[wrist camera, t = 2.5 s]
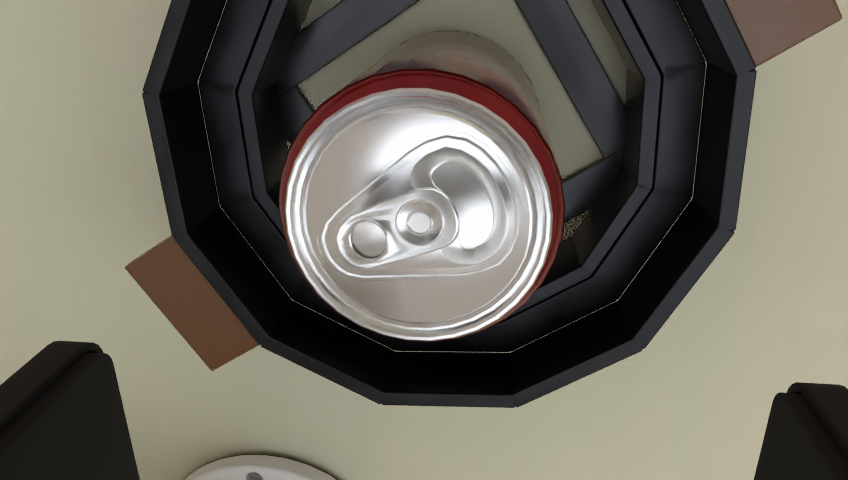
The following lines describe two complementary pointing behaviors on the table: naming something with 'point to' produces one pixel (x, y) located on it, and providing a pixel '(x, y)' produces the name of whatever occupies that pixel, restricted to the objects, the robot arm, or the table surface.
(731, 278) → the table surface
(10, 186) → the table surface
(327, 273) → the soda can
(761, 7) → the wok
